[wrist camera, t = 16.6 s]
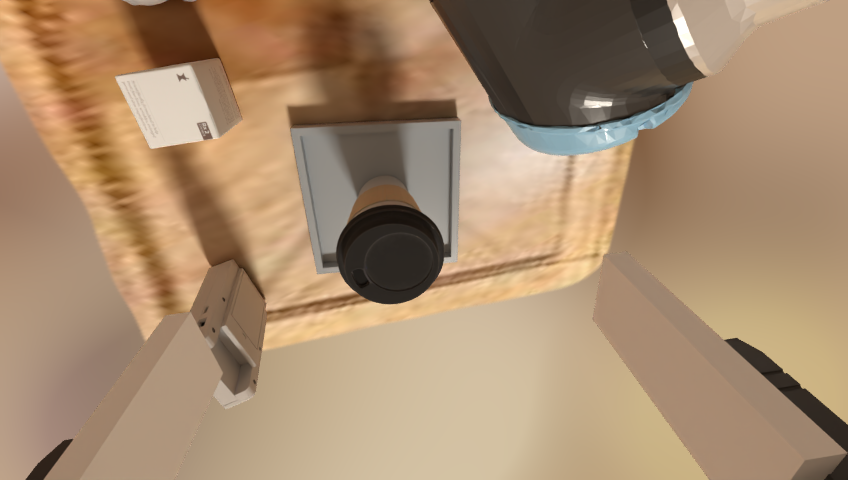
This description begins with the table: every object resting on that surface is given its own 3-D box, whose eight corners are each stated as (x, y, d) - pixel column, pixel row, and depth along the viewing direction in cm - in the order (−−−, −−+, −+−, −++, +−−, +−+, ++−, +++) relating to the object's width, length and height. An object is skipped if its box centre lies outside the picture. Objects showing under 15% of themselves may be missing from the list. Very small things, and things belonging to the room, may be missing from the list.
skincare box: (156, 67, 36) (110, 74, 29) (221, 57, 36) (189, 61, 29) (185, 131, 39) (148, 150, 32) (244, 121, 39) (220, 138, 32)
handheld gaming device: (237, 255, 46) (206, 268, 45) (210, 334, 33) (167, 352, 33) (273, 308, 50) (245, 320, 50) (261, 395, 38) (224, 411, 37)
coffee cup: (327, 203, 44) (310, 274, 30) (379, 141, 41) (385, 191, 28) (389, 247, 47) (398, 328, 34) (440, 194, 45) (471, 258, 32)
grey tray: (293, 124, 40) (290, 128, 38) (457, 117, 41) (461, 120, 40) (318, 266, 48) (317, 274, 46) (454, 254, 50) (457, 261, 48)
